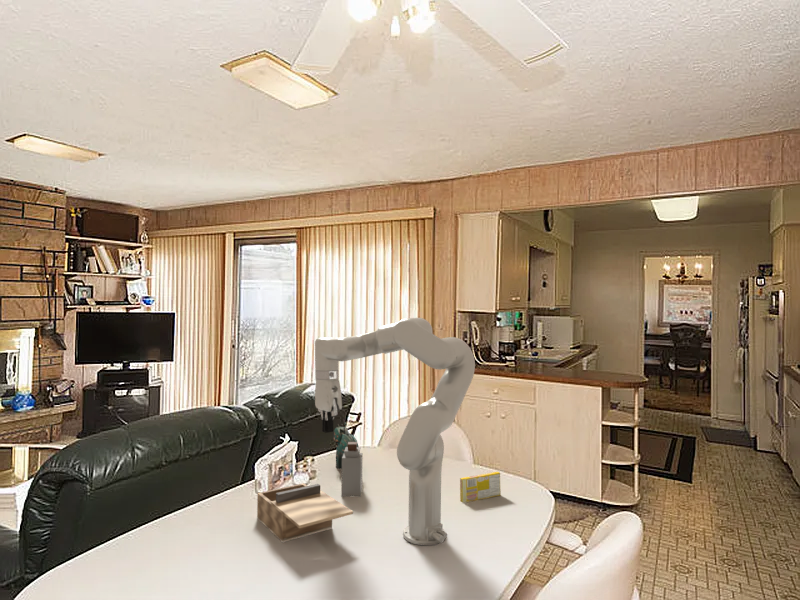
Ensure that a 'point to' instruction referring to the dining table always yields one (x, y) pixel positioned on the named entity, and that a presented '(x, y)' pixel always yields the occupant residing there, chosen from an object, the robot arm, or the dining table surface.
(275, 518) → the wooden box
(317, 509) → the sliding wooden box lid
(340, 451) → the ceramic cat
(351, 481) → the perfume bottle
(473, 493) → the candy box
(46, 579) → the dining table surface
